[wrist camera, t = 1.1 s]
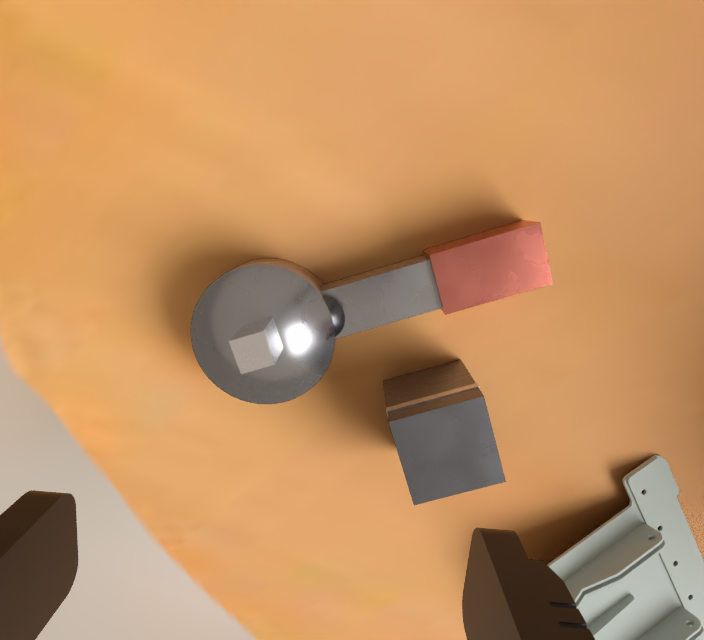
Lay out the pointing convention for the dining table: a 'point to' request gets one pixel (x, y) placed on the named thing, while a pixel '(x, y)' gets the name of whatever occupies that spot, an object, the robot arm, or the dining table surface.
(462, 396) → the grey block
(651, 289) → the dining table surface
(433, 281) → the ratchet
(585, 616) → the metal bracket
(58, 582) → the robot arm
